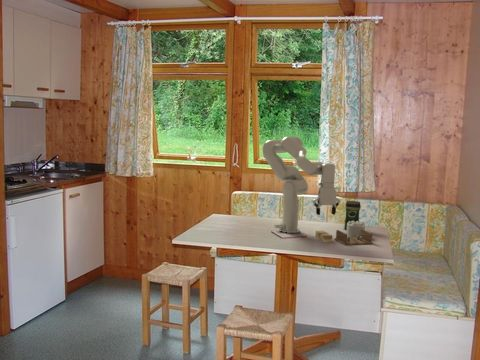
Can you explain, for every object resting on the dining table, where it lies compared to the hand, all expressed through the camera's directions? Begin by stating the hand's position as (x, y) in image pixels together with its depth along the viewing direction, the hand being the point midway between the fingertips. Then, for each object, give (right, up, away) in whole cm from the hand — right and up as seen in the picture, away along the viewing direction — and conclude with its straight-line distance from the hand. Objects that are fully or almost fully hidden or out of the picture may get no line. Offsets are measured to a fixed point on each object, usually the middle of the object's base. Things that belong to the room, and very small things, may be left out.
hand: (325, 214), depth 286 cm
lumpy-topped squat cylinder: (+21, -14, +16) cm, 30 cm away
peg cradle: (+16, -16, -1) cm, 22 cm away
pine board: (-1, -15, +2) cm, 15 cm away
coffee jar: (+22, -12, +32) cm, 41 cm away
